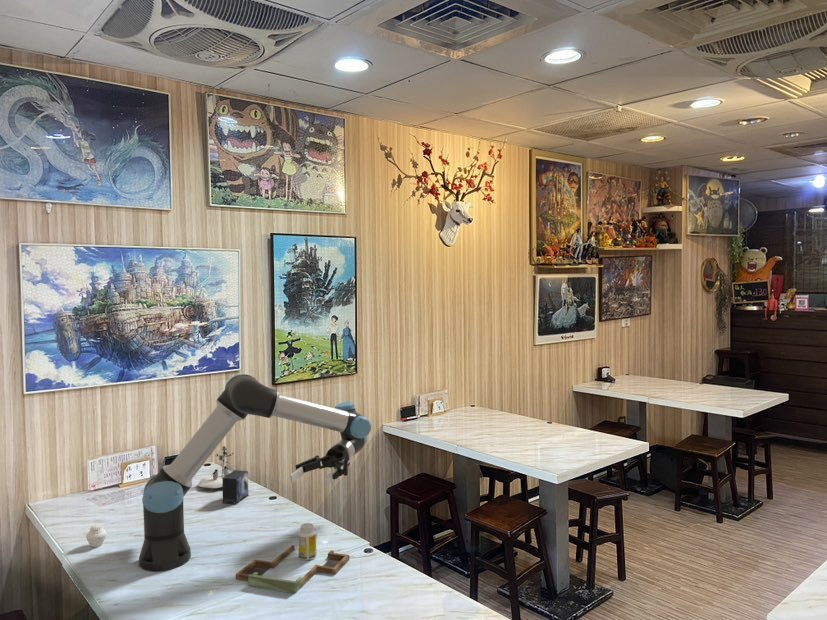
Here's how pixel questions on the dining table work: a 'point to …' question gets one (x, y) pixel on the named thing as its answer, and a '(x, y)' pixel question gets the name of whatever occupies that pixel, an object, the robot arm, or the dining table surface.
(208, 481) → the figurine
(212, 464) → the dining table surface
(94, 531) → the off-white rounded lump
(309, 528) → the supplement bottle
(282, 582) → the lane
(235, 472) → the small box
